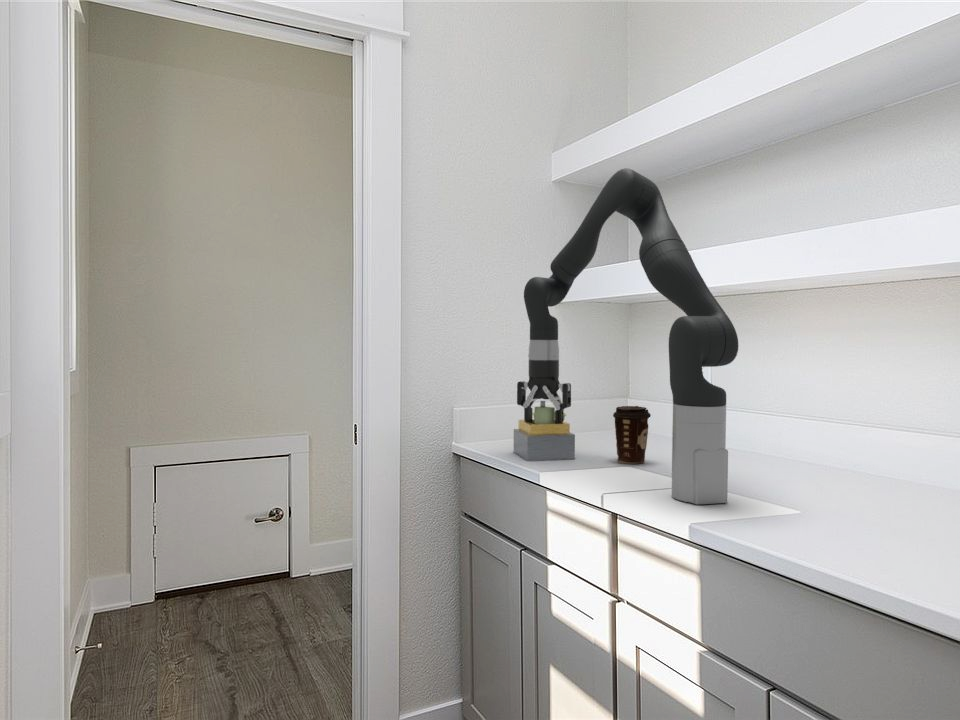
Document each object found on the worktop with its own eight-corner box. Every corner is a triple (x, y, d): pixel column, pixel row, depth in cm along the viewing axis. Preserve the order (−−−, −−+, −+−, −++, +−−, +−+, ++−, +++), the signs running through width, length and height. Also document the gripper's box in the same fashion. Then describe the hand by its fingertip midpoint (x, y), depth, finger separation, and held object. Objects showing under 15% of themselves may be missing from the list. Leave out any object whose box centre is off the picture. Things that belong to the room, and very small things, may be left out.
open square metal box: (574, 459, 155) (574, 424, 155) (527, 461, 152) (527, 425, 152) (557, 450, 167) (558, 418, 166) (513, 452, 164) (513, 419, 164)
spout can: (556, 445, 157) (557, 402, 157) (537, 445, 156) (538, 402, 156) (549, 441, 162) (550, 400, 162) (531, 442, 161) (532, 400, 161)
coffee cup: (647, 458, 155) (648, 405, 155) (653, 465, 147) (653, 409, 147) (611, 458, 156) (611, 405, 156) (614, 464, 148) (615, 408, 148)
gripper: (576, 358, 158) (576, 424, 159) (525, 357, 166) (525, 420, 166) (563, 359, 152) (563, 427, 152) (511, 358, 159) (511, 423, 160)
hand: (543, 423), depth 159 cm, fingers open, 7 cm apart
